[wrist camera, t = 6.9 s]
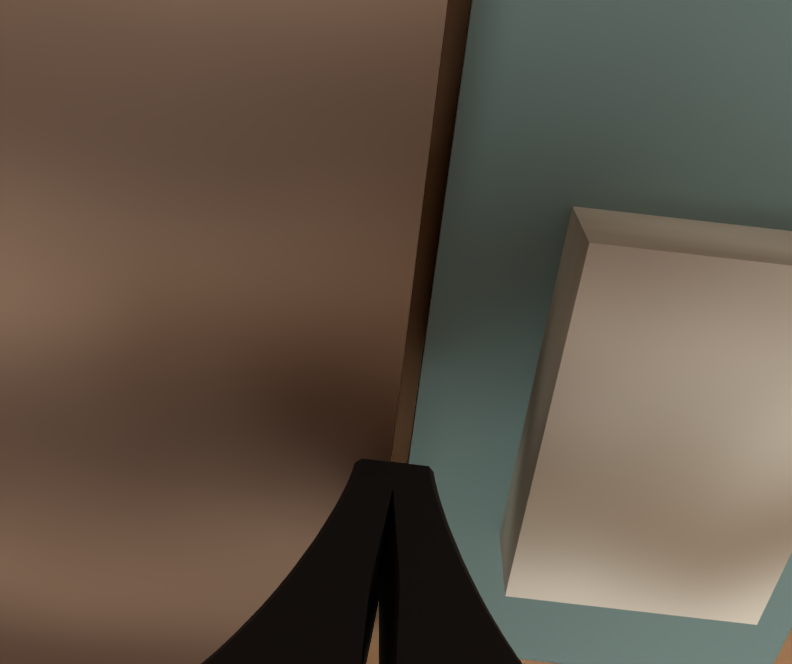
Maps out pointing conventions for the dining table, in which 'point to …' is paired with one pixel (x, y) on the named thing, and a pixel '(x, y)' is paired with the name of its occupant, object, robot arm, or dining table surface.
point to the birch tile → (658, 422)
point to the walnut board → (195, 302)
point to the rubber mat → (544, 240)
